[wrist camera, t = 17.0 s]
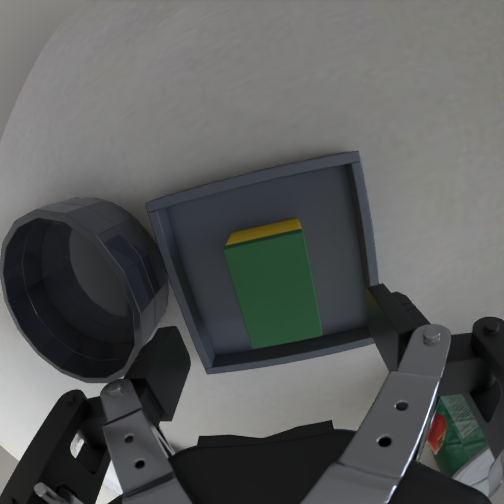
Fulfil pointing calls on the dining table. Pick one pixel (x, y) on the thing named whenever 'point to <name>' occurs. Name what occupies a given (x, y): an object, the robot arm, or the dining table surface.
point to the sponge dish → (259, 214)
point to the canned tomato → (459, 442)
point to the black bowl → (84, 286)
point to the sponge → (273, 283)
